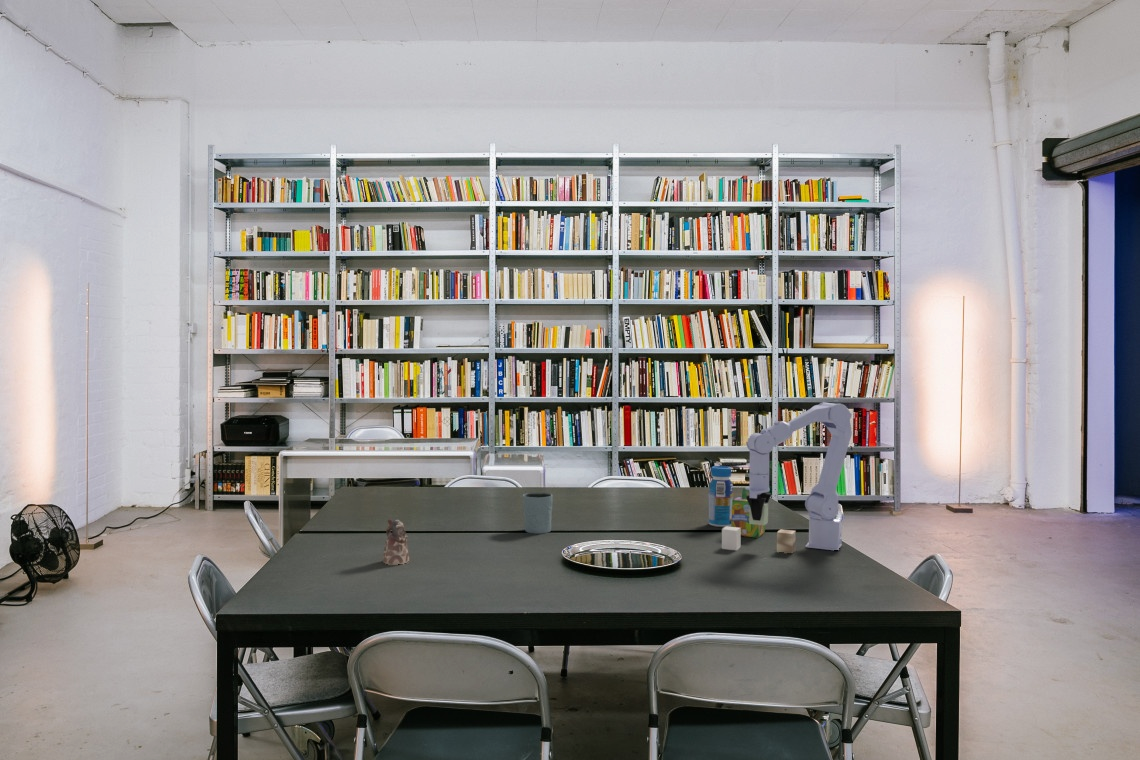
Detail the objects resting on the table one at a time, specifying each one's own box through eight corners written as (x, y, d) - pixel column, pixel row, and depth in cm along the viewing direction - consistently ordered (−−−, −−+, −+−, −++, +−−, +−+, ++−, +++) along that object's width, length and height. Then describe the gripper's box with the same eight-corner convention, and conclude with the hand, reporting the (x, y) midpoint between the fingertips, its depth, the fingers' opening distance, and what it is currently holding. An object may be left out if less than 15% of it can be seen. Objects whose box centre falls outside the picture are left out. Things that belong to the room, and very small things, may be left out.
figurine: (396, 566, 209) (396, 523, 209) (377, 563, 213) (377, 520, 213) (414, 560, 215) (414, 518, 215) (395, 557, 219) (395, 515, 219)
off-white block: (740, 547, 233) (740, 527, 233) (736, 550, 229) (736, 530, 229) (726, 545, 235) (726, 526, 235) (721, 548, 231) (721, 529, 231)
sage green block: (767, 522, 231) (768, 502, 230) (764, 525, 227) (764, 505, 226) (753, 521, 233) (753, 501, 232) (749, 523, 229) (749, 503, 228)
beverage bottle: (703, 524, 265) (703, 466, 264) (719, 521, 270) (720, 464, 269) (721, 528, 258) (722, 469, 257) (738, 525, 263) (738, 467, 262)
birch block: (795, 550, 229) (795, 530, 229) (792, 554, 225) (792, 533, 225) (780, 548, 231) (780, 529, 231) (776, 552, 227) (777, 532, 227)
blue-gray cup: (540, 535, 247) (541, 498, 247) (516, 531, 253) (516, 495, 252) (558, 529, 255) (558, 493, 255) (534, 525, 261) (534, 490, 261)
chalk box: (730, 535, 248) (731, 490, 248) (738, 529, 257) (738, 485, 256) (759, 538, 244) (759, 492, 244) (765, 532, 252) (766, 488, 252)
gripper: (752, 469, 237) (751, 512, 238) (739, 475, 225) (739, 521, 225) (775, 471, 234) (774, 515, 235) (763, 477, 221) (763, 524, 222)
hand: (758, 518), depth 230 cm, fingers closed on sage green block, 4 cm apart
